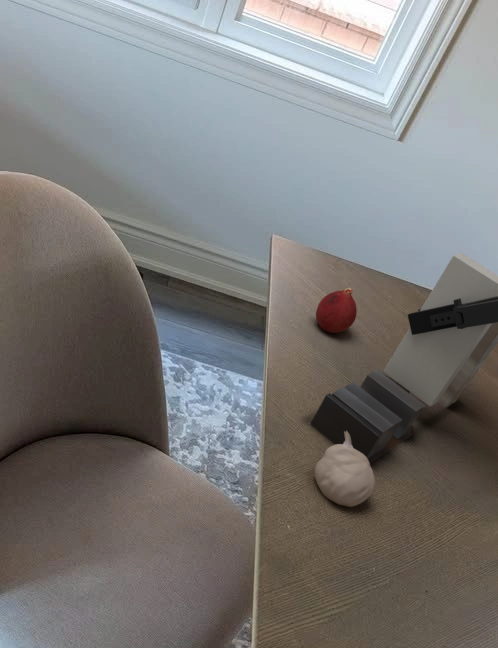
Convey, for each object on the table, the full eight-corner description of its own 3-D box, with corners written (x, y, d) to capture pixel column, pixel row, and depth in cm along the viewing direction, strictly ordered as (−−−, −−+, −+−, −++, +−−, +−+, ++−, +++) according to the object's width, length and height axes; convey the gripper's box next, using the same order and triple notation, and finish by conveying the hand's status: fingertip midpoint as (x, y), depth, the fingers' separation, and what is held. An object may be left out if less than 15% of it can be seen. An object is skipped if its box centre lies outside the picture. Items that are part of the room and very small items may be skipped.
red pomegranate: (314, 342, 113) (337, 296, 107) (303, 319, 117) (324, 274, 111) (348, 346, 115) (373, 301, 109) (336, 323, 118) (359, 279, 113)
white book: (390, 367, 104) (460, 252, 92) (437, 402, 101) (517, 287, 88) (382, 371, 103) (453, 254, 90) (430, 407, 100) (510, 291, 87)
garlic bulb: (354, 481, 93) (384, 434, 87) (363, 520, 88) (396, 473, 83) (304, 471, 92) (331, 423, 86) (311, 510, 87) (340, 462, 82)
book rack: (404, 372, 113) (474, 261, 100) (455, 409, 110) (534, 299, 96) (304, 427, 98) (371, 304, 85) (359, 472, 94) (438, 351, 81)
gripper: (638, 232, 83) (437, 281, 102) (590, 257, 74) (379, 306, 93) (648, 299, 85) (449, 335, 103) (603, 331, 76) (393, 365, 94)
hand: (416, 321), depth 98 cm, fingers closed on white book, 2 cm apart
